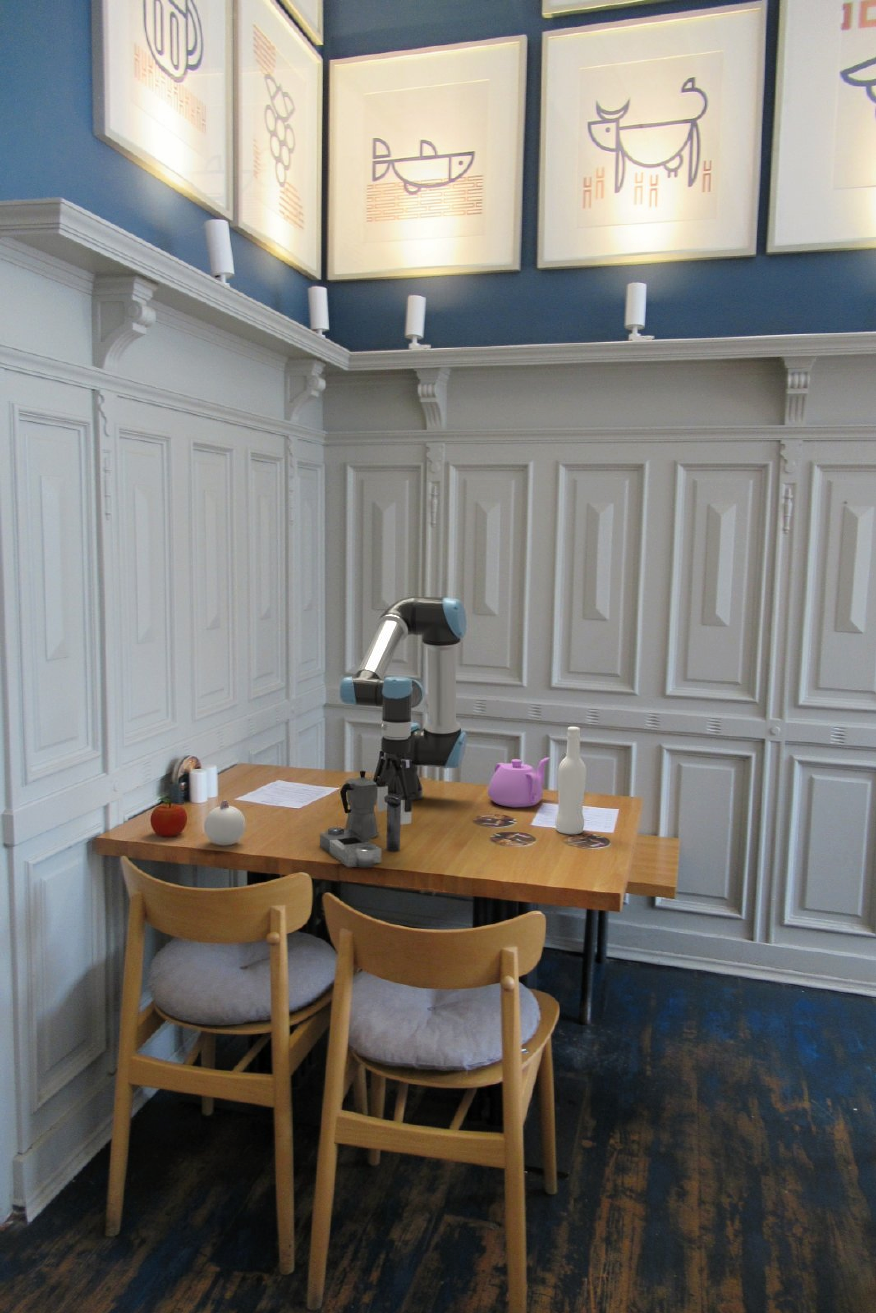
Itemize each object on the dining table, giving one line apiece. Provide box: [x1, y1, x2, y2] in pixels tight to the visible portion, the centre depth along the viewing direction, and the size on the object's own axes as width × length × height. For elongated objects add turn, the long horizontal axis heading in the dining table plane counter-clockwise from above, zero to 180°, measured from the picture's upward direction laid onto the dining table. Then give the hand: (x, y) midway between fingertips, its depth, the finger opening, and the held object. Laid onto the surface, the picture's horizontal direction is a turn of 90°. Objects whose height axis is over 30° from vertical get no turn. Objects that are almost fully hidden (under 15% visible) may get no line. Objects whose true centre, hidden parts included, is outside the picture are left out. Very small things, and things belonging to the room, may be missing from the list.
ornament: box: [203, 799, 246, 846], centre depth 249 cm, size 10×10×12 cm
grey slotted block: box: [319, 826, 382, 869], centre depth 244 cm, size 9×22×4 cm, turn 30°
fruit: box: [149, 797, 188, 838], centre depth 255 cm, size 10×10×10 cm
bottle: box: [554, 726, 587, 835], centre depth 269 cm, size 8×8×30 cm
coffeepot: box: [339, 770, 379, 840], centre depth 259 cm, size 15×9×18 cm, turn 145°
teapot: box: [487, 756, 550, 809], centre depth 299 cm, size 22×22×14 cm
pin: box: [384, 795, 403, 853], centre depth 249 cm, size 5×5×14 cm
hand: (393, 817), depth 248 cm, fingers open, 13 cm apart
